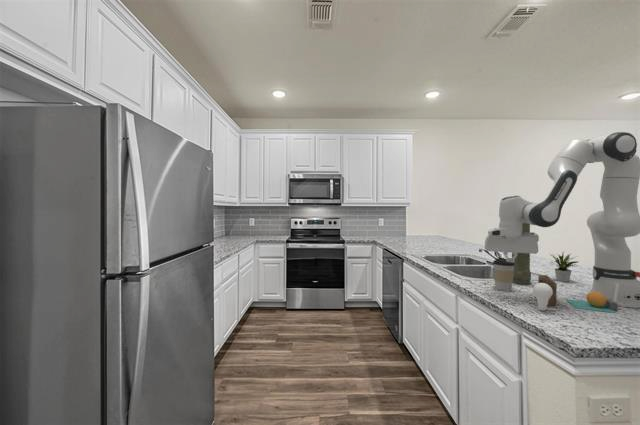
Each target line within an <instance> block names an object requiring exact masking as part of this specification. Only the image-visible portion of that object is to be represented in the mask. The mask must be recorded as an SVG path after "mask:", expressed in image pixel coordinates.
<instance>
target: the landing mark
mask: <svg viewBox="0 0 640 425" xmlns="http://www.w3.org/2000/svg"><path fill="white" fill-rule="evenodd" d="M565 301H567V302H568V303H569V304H570V305H571V306H572V307H573V308H575V309H579V310H586V311H587V310H588V311H596V312H603V313H604V312H605V313H613V314H616V312H617V311H613V310H610V309H609V308H607V307H606V306H602V307H595V306H592V305H591V304H589V303H588V301H587V300H586V301H585V300H579V299H578V300H577V299H570V298H565Z"/></svg>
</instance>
